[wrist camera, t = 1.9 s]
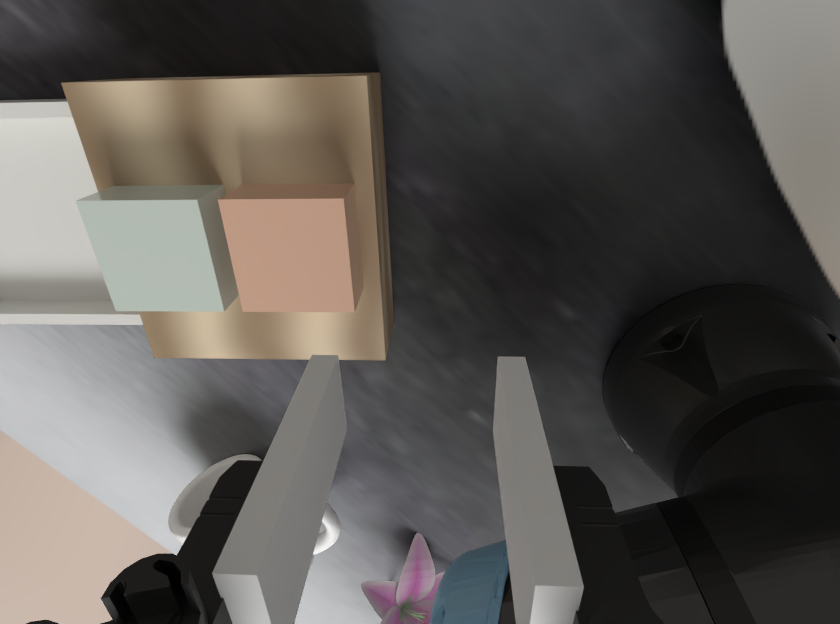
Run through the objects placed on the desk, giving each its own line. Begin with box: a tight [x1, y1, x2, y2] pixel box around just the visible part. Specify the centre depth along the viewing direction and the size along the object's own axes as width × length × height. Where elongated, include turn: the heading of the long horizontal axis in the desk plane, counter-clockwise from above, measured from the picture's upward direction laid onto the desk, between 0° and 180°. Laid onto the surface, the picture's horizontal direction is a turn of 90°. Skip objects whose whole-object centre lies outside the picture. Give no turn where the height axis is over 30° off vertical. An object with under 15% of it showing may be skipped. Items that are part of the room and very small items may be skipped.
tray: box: [0, 99, 143, 325], centre depth 30 cm, size 15×14×4 cm
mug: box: [169, 454, 340, 571], centre depth 40 cm, size 12×10×8 cm
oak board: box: [61, 72, 394, 360], centre depth 29 cm, size 15×16×5 cm
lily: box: [361, 533, 445, 624], centre depth 45 cm, size 12×12×10 cm
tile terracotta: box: [218, 183, 364, 312], centre depth 25 cm, size 6×6×3 cm
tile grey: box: [76, 185, 239, 312], centre depth 25 cm, size 6×6×3 cm
